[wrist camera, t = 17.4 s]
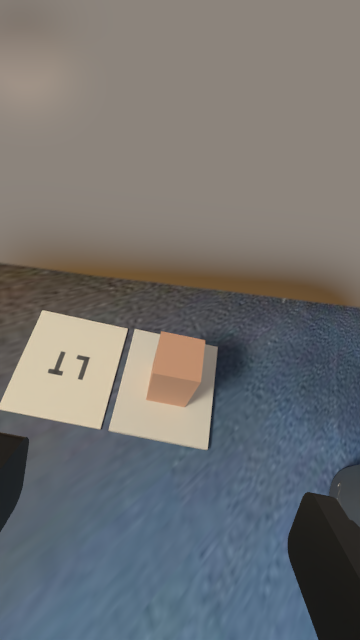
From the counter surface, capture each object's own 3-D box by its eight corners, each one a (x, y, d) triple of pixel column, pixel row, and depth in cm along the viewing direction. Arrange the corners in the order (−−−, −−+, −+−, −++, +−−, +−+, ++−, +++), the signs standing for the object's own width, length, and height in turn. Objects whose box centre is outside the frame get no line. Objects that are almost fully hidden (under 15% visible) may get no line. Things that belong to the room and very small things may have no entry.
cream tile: (127, 329, 46) (127, 328, 46) (100, 429, 39) (100, 429, 39) (42, 310, 46) (42, 310, 45) (-2, 409, 38) (-3, 409, 38)
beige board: (216, 348, 47) (217, 346, 47) (206, 450, 40) (207, 449, 39) (134, 331, 46) (135, 328, 46) (108, 431, 39) (108, 429, 38)
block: (189, 370, 44) (205, 340, 36) (184, 407, 41) (200, 382, 34) (152, 363, 44) (161, 331, 36) (145, 400, 41) (153, 373, 33)
